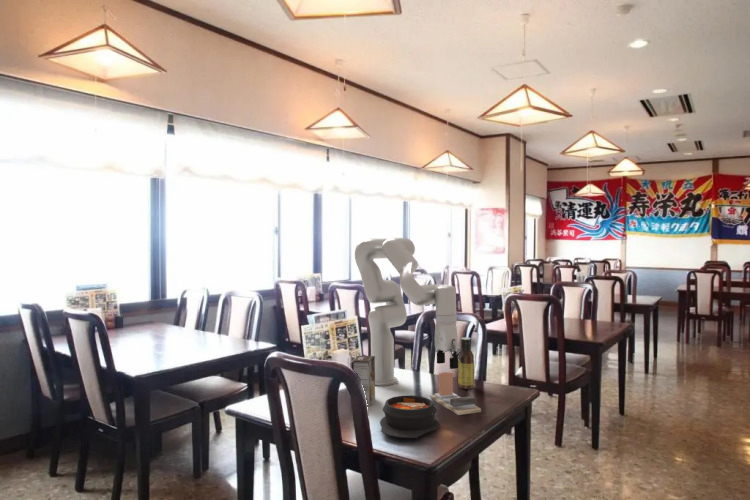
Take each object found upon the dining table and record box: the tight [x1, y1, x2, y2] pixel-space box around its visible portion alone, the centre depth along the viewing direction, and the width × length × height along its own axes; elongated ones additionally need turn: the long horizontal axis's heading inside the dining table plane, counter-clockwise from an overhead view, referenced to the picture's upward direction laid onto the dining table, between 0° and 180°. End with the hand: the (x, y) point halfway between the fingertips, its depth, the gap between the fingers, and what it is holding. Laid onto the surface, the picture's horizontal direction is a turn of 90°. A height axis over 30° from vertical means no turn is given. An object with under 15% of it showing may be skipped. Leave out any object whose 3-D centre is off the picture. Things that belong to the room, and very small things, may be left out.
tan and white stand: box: [433, 371, 459, 399], centre depth 188 cm, size 5×7×9 cm
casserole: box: [379, 394, 440, 439], centre depth 159 cm, size 25×19×8 cm
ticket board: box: [430, 394, 482, 416], centre depth 182 cm, size 20×9×4 cm, turn 21°
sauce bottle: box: [457, 336, 475, 390], centre depth 204 cm, size 6×6×20 cm
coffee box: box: [352, 355, 376, 407], centre depth 186 cm, size 9×6×16 cm
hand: (447, 365), depth 188 cm, fingers open, 9 cm apart
